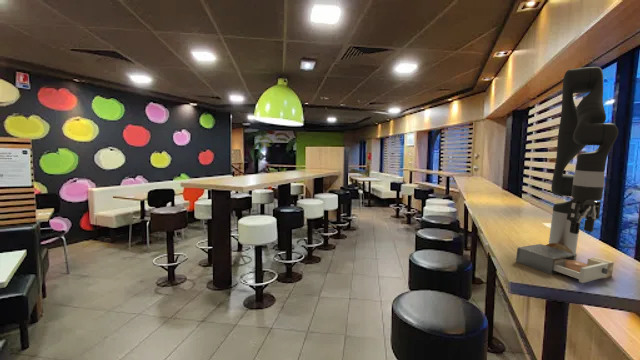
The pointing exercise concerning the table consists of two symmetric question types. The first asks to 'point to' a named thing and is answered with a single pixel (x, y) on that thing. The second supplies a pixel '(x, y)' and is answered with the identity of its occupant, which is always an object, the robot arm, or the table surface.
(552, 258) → the player housing
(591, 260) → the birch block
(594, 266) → the tray
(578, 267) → the coaster
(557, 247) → the bread roll
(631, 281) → the table surface
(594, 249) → the table surface
